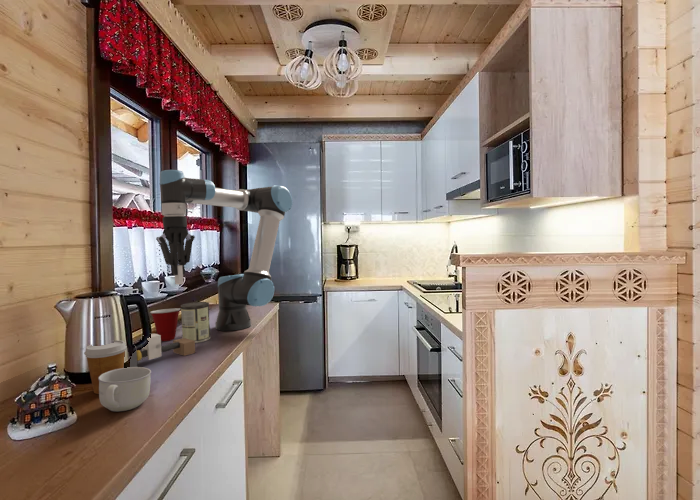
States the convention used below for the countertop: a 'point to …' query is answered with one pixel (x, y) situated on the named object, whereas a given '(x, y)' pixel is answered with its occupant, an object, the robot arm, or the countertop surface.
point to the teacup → (124, 388)
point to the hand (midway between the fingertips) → (179, 284)
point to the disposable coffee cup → (104, 360)
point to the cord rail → (177, 346)
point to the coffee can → (195, 321)
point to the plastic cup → (166, 323)
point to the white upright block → (153, 346)
